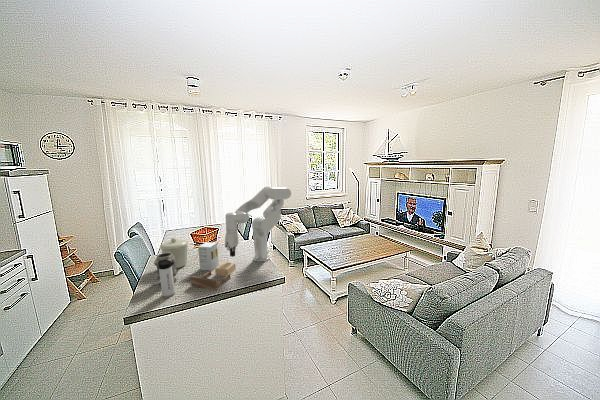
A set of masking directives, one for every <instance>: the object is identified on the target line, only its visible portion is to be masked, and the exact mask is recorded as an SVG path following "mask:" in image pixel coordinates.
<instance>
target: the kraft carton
mask: <svg viewBox="0 0 600 400" xmlns="http://www.w3.org/2000/svg"><path fill="white" fill-rule="evenodd" d="M214 270H215V276H217V277H219V276H221V277H226V276H227V275H229V274H230V275H232V273H233V272H235V271H236V262H229V261H228V262H227V261H225V262H223V261H222V262H221V263H220V264H219V265H218V266H217V267H216V268H214Z"/></svg>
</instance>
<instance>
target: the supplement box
mask: <svg viewBox="0 0 600 400" xmlns="http://www.w3.org/2000/svg"><path fill="white" fill-rule="evenodd" d="M197 249H198V259H199V270H200V271H211V272H212V271H213V270H215V268H216V267H218V266H219V265H220V264H219V263H220V261H219V251H218V250H219V249H218V242H207V241H206V242H204V243H202V244H201V245H199V246H198V247H197Z"/></svg>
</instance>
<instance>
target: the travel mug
mask: <svg viewBox="0 0 600 400" xmlns="http://www.w3.org/2000/svg"><path fill="white" fill-rule="evenodd" d="M158 265H159V274H160V280H159V282H160V281H161V286H160V288H161V296H162V298H166V299H167V298H171V297H173V296H174V295H175V293H176V290H175V289H176V288H175V283H174V281H173V278H174V277H173V272H172V265H171V261H170V260H163V261H159V262H158Z"/></svg>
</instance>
